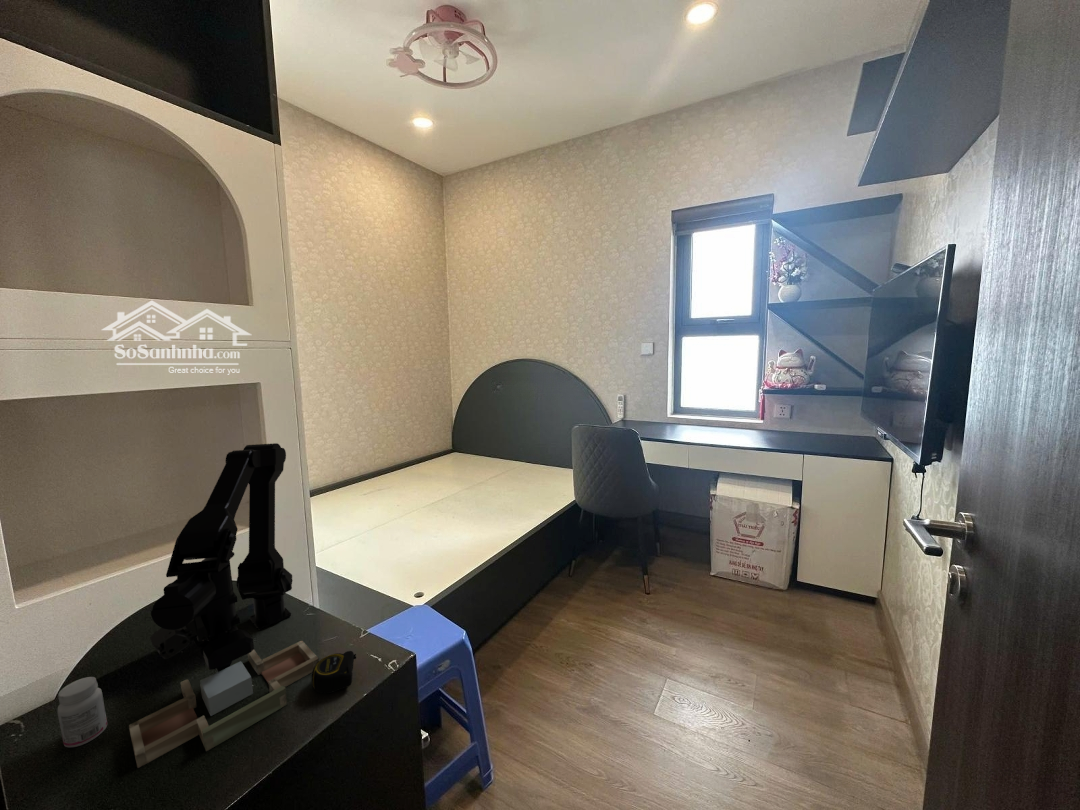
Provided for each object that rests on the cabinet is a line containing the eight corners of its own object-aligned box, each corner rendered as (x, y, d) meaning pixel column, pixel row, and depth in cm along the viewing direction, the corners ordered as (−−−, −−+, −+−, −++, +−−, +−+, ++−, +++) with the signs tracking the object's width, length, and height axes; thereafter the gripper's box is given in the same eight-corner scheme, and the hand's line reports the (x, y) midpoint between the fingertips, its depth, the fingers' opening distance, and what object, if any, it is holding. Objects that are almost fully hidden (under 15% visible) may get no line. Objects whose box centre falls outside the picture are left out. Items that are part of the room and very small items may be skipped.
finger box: (126, 719, 69) (124, 702, 69) (293, 639, 88) (291, 625, 87) (142, 788, 58) (139, 769, 57) (329, 679, 76) (328, 664, 76)
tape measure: (352, 692, 74) (351, 672, 73) (308, 702, 72) (307, 682, 71) (356, 665, 80) (355, 647, 80) (316, 674, 78) (315, 655, 78)
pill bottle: (76, 727, 68) (68, 679, 67) (114, 718, 69) (106, 671, 68) (55, 753, 63) (45, 702, 62) (96, 742, 65) (87, 692, 64)
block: (202, 699, 73) (199, 680, 73) (243, 678, 78) (240, 661, 77) (210, 717, 69) (208, 698, 69) (253, 695, 74) (251, 676, 73)
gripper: (143, 594, 74) (154, 676, 76) (161, 639, 62) (175, 734, 64) (220, 569, 83) (229, 643, 85) (249, 604, 71) (259, 689, 73)
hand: (223, 674), depth 76 cm, fingers closed
